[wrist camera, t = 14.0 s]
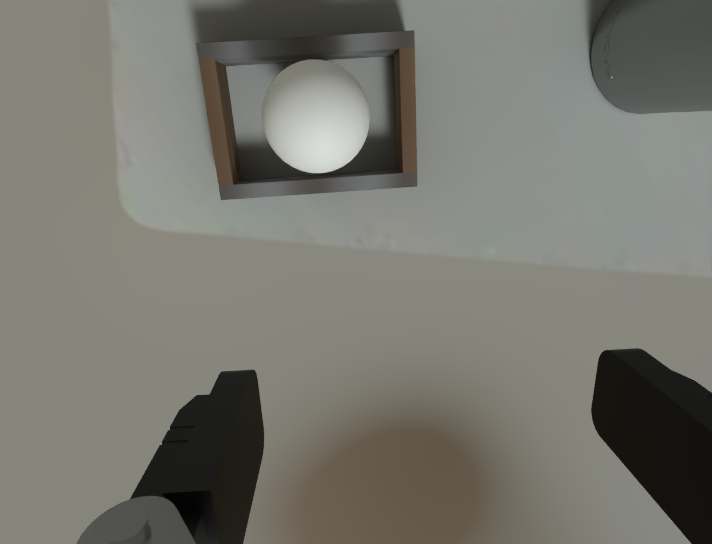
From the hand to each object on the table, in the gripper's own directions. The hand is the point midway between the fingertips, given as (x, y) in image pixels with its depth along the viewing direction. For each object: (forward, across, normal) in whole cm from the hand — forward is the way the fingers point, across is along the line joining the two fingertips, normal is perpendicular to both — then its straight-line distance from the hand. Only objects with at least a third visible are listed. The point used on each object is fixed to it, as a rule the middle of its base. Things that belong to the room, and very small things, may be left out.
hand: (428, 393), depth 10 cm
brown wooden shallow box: (+26, +3, -7) cm, 27 cm away
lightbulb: (+26, +3, -6) cm, 27 cm away
